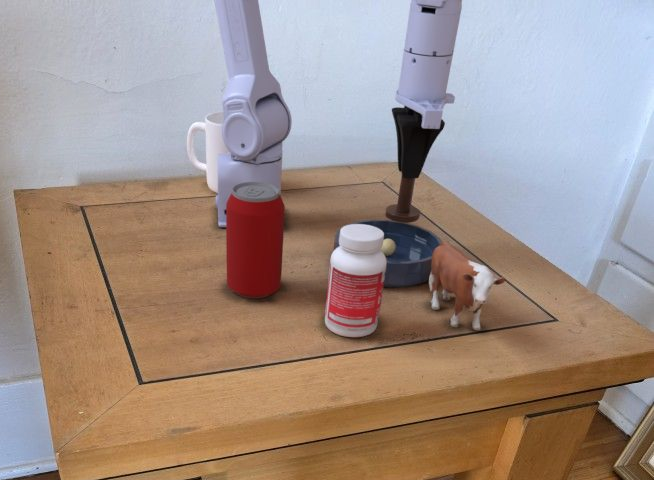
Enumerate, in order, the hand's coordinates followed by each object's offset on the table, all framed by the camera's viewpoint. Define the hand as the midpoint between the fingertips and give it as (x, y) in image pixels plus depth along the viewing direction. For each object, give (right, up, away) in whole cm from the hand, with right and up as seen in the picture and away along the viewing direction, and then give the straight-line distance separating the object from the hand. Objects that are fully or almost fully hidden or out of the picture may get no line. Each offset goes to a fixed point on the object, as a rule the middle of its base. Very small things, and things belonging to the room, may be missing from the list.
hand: (408, 174), depth 90 cm
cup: (-26, +9, +24) cm, 36 cm away
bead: (-2, -8, +4) cm, 9 cm away
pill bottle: (-8, -22, -9) cm, 25 cm away
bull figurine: (+4, -21, -6) cm, 22 cm away
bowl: (-2, -11, +4) cm, 11 cm away
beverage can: (-20, -16, -3) cm, 26 cm away
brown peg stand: (0, -4, +4) cm, 5 cm away
